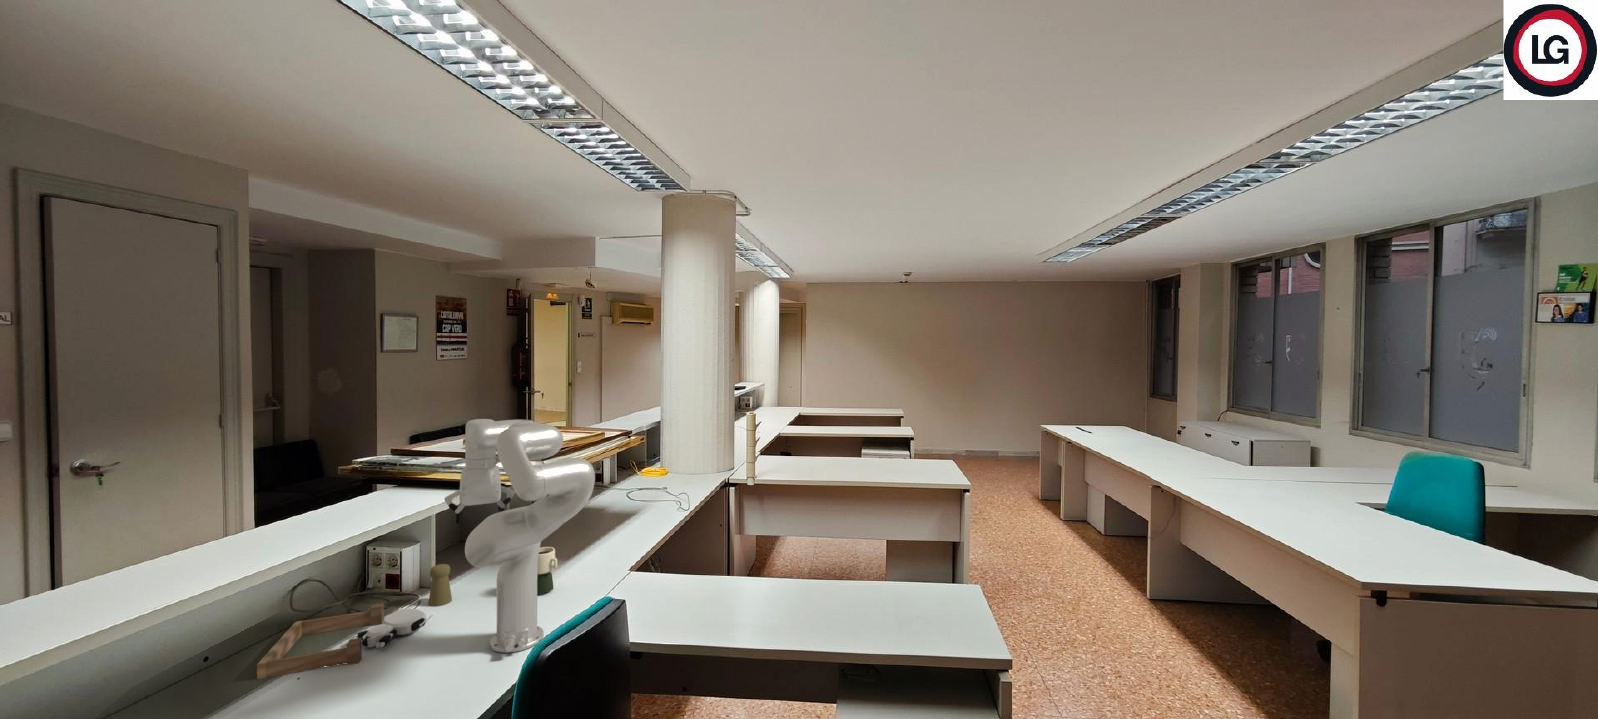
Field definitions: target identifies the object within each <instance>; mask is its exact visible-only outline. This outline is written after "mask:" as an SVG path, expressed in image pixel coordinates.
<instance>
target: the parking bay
mask: <svg viewBox="0 0 1598 719" xmlns="http://www.w3.org/2000/svg"><path fill="white" fill-rule="evenodd" d="M384 618H385V602H378V603H373V604H372V605H371V607H370V610H366V611H361V612H360V611H359V612H353V613H346V614H345V613H344V614H339V615H332V616H326V617H319V618H312V619H305V620H299V621H295V622H293V624H292V625H291V626H290V627H289V628H288V629H287V630H286V632H285V633H284V634H283V635H282V636H281V637H280V639H278V641H277V642H275V644H274V645H273V646H272V647H271V648H270V649H269V651H268V652H267V653H266V654H265V655H264V656H263V657H262V658H261V659H260V661H258V663H257V664H256V680H262V679H267V678H273V677H279V676H285V675H289V674H296V673H301V672H306V671H305V670H308V671H314V670H318V669H317V668H319V669H322V668H321V667H324V666H331V667H334V666H333V665H337V664H342V665H344V664H343V663H347V664H350V665H354V664H353V663H356V664H359V663H360V662H359V661H361V660H362V658H363V654H362V653H363V652H362V649H363V648H362V647H363V645H362V641H363V640H362V638H357V639H351V640H350V639H349V640H348V641H347V643H346V644H345V646H346V647H341V648H336V649H330V650H324V651H317V652H312V653H305V654H300V655H294V656H287V657H285V655H287V653H288V652H289V651H290V650H291V648H292V647H293V646H294V645H295V644H296V642H297V641H298V640H299V639H300V638H301V637H302V636H308V635H313V634H319V633H320V634H321V633H326V632H334V631H341V630H345V629H352V628H359V627H364V626H365V627H366V626H371V627H372V626H378V625H381V624H382V620H383V619H384ZM358 662H359V663H358ZM347 664H346V665H347ZM337 666H338V665H337ZM313 669H314V670H313Z"/></svg>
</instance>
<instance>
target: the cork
mask: <svg viewBox="0 0 1598 719" xmlns="http://www.w3.org/2000/svg"><path fill="white" fill-rule="evenodd" d="M450 574H451V566H450V565H449V564H447V563H440V564H436V565H434V566H432V567H431V569H430V571H429V576H430V577H431V583H430V584H431V586H430V591H429V598H428V603H427V604H428V606H429V607H441V606H446V605H448V604H450V603H451V602H452V600H453V598H452V591H451V586H450V578H449V575H450Z"/></svg>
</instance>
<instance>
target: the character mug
mask: <svg viewBox="0 0 1598 719" xmlns="http://www.w3.org/2000/svg"><path fill="white" fill-rule="evenodd" d="M557 568H558V558H556V549H555V547H552V546H542V547H541V546H540V549H539V555H538V568H537V595H541V594H546V593H548V592H550V591H553V590H554V580H553V574H552V571H554V570H556V569H557Z"/></svg>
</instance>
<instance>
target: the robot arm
mask: <svg viewBox="0 0 1598 719" xmlns="http://www.w3.org/2000/svg"><path fill="white" fill-rule="evenodd" d="M563 445H564V435H563V434H562V432H561V430H560V429H558V427H555V426H554V425H552V424H548V423H539V422H535V421H533V420H531V419H505V420H493V419H491V418H475V419H471V420H468V421H467V422H466V424H465V445H464V446H465V454H464V455H465V460H464V461H465V463H464V464H465V467H463V468H462V469H461V474H460V480H459V489H458V490H456V491H454V492H453V493H450V494H449V495H446V496H445V497H444V502H445V504H446V505H447V506H448V508H449V509H450V510H452V511H453V512H454V513H455V514H456V516H455V520H456V522H455V523H456V525H458V524H459V525H458V527H459V528H462V527H463V511H462V510H463V509H464V508H465V507H466V506H467V507H468V506H478V505H484V504H485V505H486V504H493V503H494V504H497V505H498V507H497V512H496V513H493V514H491V515H488V516H487V517H486V518H485V519H484V520H483V521H481V522H480V523H479V524H478V525H477V526H476V527H475V528H474V529H472V531H471V532H470V533H469V535H468V536H467V538H466V540H465V541H466V542H465V545H464V554H465V555H464V556H465V558H466V560H467V562H468V563H469V564H470V565H472V567H476V568H485V567H489V566H494V565H496V564H501V565H500V567H499V570H498V572H497V574H496V575H497V577H496V633H495V634H494V635H493V636H492V637H491V638H490V640H489V647H490V649H491V650H492V651H494V652H497V653H502V654H504V653H508V654H511V653H517V652H521V651H524V650H527V649H529V648H532V647H533V646H536V645H537V644H538V643H537V641H540V640H541V639H542V640H543V638H544V629H543V628H542V627H540V626H539V625H538V594H537V568H538V555H539V549H540V548H541V544H542V541H544V540H545V539H546V538H548V537H549V536H550V535H551V534H553V533H554V532H555V531H557V530H558V529H559V528H560V527H561V526H563V525H564V524H565V523H566V522H568V521H569V520H571V519H572V518H573V517H575V516H576V515H577V514H578V513H579V512H580V511H582V510H583V508H585V507H586V505H587V503H588V502H589V500H590V498H591V497H592V494H593V491H594V488H595V483H596V472H595V469H594V467H593V465H592V464H591V463H590V462H589V461H588V460H586V459H584V458H580V457H561V458H555V459H549V460H548V459H547V458H550V457H553V456H555V455H556V454H558V453H559V451H560V450H561V449H562V447H563ZM542 459H547V460H543V461H538V462H537V461H536V460H542ZM531 461H534V462H531ZM535 461H536V462H535ZM499 463H500V464H501V466H502V468H503V470H504V472H505V474H506V477H507V478H508V480H509V482H510V485H511V486H512V488H513V489H512V488H508V487H507V486H503V485H501V484H502V482H501V472H500V471H501V470H500V467H499V465H497V464H499ZM502 492H503V493H506V494H507V495H506V496H507V497H505V498H504V499H503V500H502V499H501V498H502ZM515 494H516V496H518V498H520V499H521V500H522V501H527V502H534V503H532V504H530V505H526V506H519V507H516V508H512V509H507V510H505V508H506V506H508V504H509V503H510V502H511V501H512V499H513V497H514V495H515ZM457 497H459V504H457V505H456V504H455V503H454V502H453V501H452V500H453V499H455V498H457ZM542 640H541V641H542ZM541 641H540V642H541ZM536 643H537V644H536Z"/></svg>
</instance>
